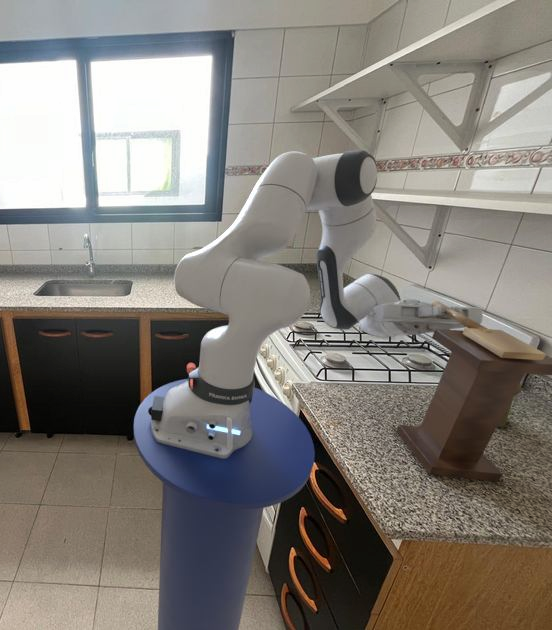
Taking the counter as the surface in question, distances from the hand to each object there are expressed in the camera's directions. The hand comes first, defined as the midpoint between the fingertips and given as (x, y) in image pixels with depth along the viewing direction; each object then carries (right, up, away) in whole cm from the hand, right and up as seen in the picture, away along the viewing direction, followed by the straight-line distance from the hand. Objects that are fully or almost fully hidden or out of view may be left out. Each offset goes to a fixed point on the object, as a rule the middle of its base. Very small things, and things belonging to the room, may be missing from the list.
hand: (450, 310), depth 72 cm
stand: (-1, -30, 0) cm, 30 cm away
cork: (+18, -26, +10) cm, 33 cm away
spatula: (-1, -4, -5) cm, 6 cm away
